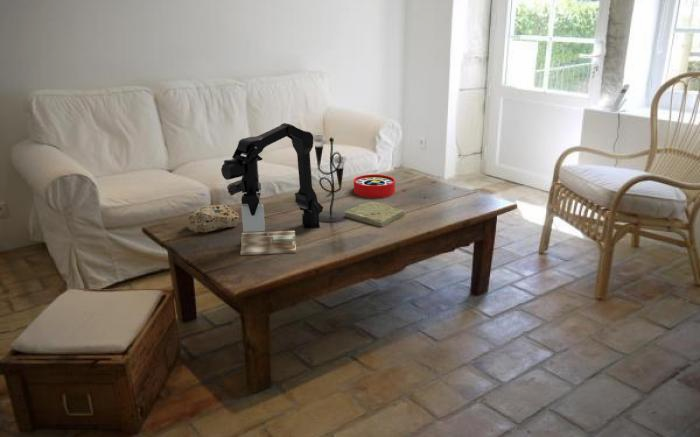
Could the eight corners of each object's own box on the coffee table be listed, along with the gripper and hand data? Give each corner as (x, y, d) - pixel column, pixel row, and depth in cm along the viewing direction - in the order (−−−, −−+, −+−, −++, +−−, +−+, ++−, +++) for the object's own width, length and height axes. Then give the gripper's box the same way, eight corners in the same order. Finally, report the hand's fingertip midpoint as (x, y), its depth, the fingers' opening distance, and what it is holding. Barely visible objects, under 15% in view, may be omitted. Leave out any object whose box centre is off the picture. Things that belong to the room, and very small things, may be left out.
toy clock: (374, 172, 290) (403, 180, 276) (374, 183, 292) (403, 192, 278) (345, 179, 278) (373, 188, 264) (345, 191, 280) (373, 201, 266)
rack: (295, 237, 223) (294, 228, 222) (296, 252, 210) (295, 242, 209) (243, 240, 221) (242, 230, 220) (240, 255, 208) (239, 244, 207)
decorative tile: (381, 228, 234) (381, 220, 233) (344, 217, 246) (343, 209, 245) (407, 216, 247) (407, 208, 246) (370, 206, 259) (370, 199, 258)
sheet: (265, 229, 216) (263, 204, 213) (264, 230, 215) (263, 205, 211) (243, 230, 215) (241, 205, 212) (243, 231, 214) (241, 206, 210)
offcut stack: (294, 243, 215) (294, 234, 214) (295, 248, 211) (294, 239, 210) (270, 245, 214) (270, 236, 213) (270, 249, 211) (269, 240, 209)
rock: (228, 218, 247) (231, 197, 243) (242, 235, 237) (245, 214, 233) (181, 223, 236) (183, 201, 231) (194, 242, 226) (196, 220, 221)
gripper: (229, 167, 215) (233, 207, 221) (225, 182, 198) (228, 224, 203) (259, 166, 216) (262, 206, 222) (257, 181, 199) (260, 223, 204)
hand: (253, 214), depth 213 cm, fingers closed on sheet, 2 cm apart
